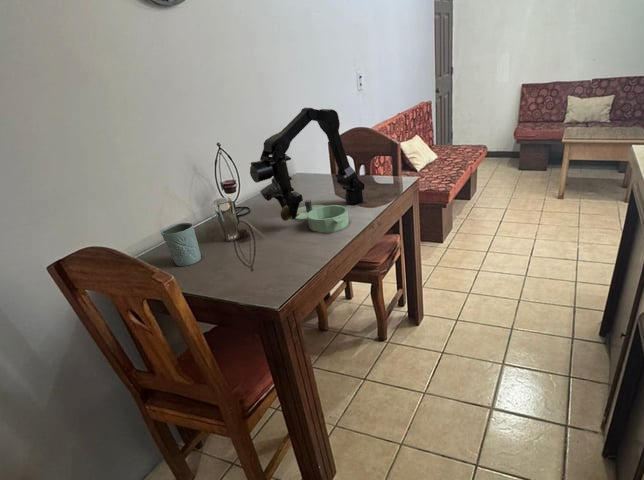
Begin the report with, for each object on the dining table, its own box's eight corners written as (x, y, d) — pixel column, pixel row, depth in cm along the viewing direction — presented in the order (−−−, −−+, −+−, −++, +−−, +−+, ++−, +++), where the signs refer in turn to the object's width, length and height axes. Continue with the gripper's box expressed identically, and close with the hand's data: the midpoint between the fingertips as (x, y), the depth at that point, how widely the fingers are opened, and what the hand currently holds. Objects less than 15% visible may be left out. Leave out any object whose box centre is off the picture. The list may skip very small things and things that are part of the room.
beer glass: (225, 243, 155) (213, 204, 148) (222, 237, 161) (210, 200, 153) (244, 238, 158) (233, 200, 150) (240, 233, 163) (229, 195, 156)
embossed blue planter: (173, 269, 140) (160, 236, 134) (173, 258, 148) (161, 226, 142) (204, 261, 143) (193, 229, 137) (203, 251, 151) (192, 220, 145)
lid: (319, 204, 184) (316, 192, 182) (336, 213, 172) (334, 200, 170) (284, 214, 177) (281, 201, 174) (300, 224, 165) (297, 210, 162)
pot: (334, 213, 173) (332, 201, 170) (359, 226, 158) (357, 213, 155) (300, 223, 166) (297, 211, 164) (323, 238, 151) (321, 224, 148)
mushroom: (306, 207, 160) (293, 196, 157) (298, 222, 156) (285, 211, 153) (294, 214, 166) (282, 204, 163) (287, 229, 162) (274, 218, 158)
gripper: (251, 175, 156) (261, 215, 164) (268, 185, 142) (279, 228, 150) (279, 168, 160) (288, 207, 168) (298, 177, 146) (307, 219, 154)
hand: (290, 215), depth 160 cm, fingers closed on mushroom, 8 cm apart
